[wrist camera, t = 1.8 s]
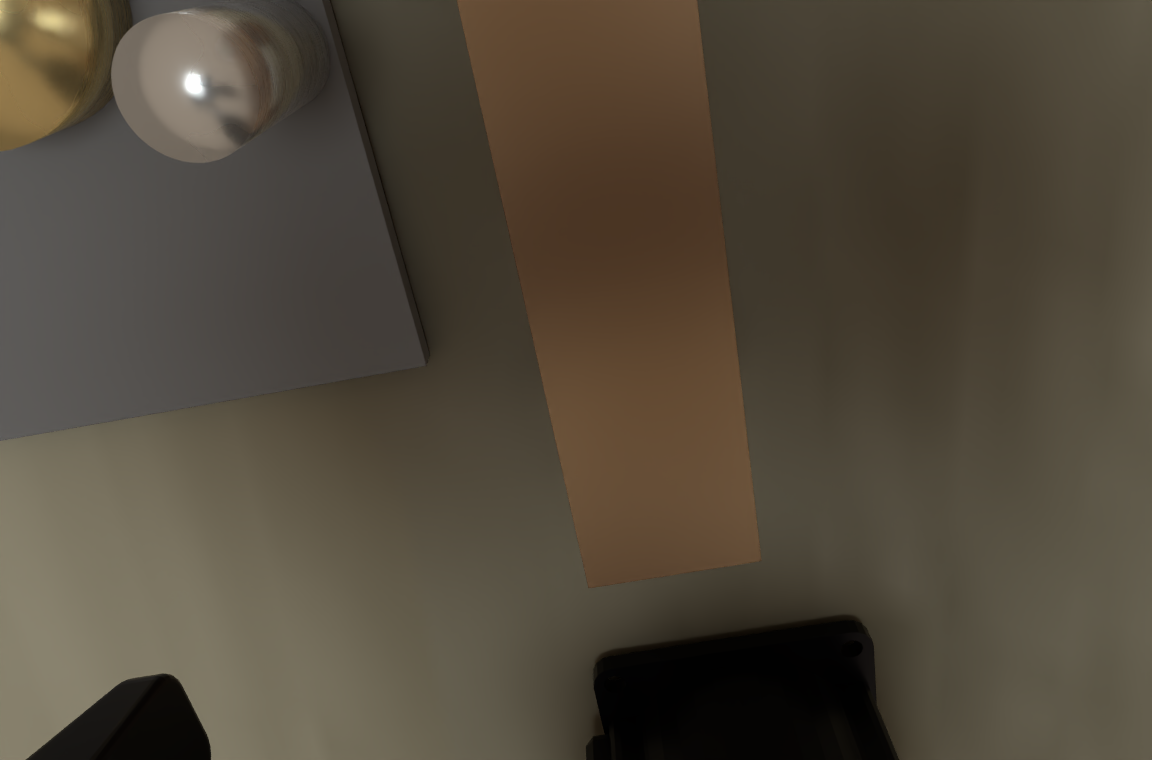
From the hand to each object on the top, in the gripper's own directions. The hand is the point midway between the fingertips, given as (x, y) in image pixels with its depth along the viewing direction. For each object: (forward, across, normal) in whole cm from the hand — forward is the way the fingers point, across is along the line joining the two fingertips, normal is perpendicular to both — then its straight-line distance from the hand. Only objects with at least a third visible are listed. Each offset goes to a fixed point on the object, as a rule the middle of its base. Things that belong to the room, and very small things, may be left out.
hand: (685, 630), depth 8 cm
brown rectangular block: (+10, 0, -3) cm, 11 cm away
